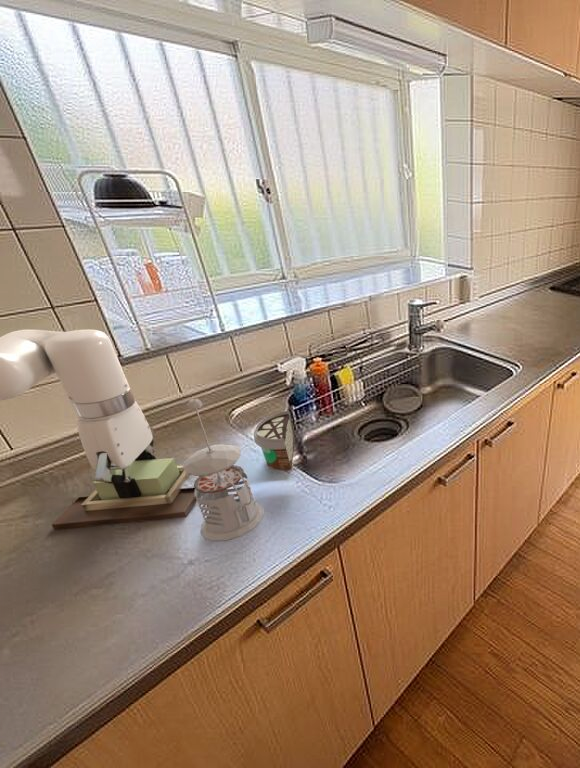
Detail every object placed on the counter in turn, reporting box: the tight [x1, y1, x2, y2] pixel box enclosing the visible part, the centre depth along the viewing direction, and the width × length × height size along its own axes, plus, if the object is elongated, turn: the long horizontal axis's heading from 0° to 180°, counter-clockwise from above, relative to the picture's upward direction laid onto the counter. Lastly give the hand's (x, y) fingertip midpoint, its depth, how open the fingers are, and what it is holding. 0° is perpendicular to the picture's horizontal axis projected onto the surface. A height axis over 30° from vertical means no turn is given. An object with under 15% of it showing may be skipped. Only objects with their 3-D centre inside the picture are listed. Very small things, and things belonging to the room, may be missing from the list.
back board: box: [51, 464, 197, 530], centre depth 80 cm, size 20×15×3 cm
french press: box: [183, 398, 265, 542], centre depth 70 cm, size 10×12×25 cm
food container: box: [253, 409, 296, 471], centre depth 88 cm, size 12×6×10 cm, turn 21°
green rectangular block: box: [92, 457, 181, 500], centre depth 79 cm, size 10×6×4 cm, turn 102°
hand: (141, 484), depth 79 cm, fingers closed on green rectangular block, 6 cm apart
